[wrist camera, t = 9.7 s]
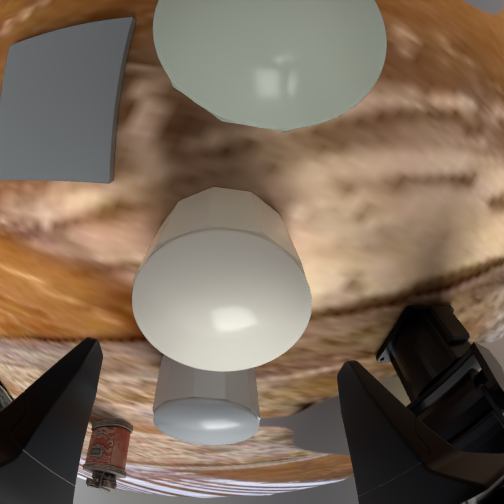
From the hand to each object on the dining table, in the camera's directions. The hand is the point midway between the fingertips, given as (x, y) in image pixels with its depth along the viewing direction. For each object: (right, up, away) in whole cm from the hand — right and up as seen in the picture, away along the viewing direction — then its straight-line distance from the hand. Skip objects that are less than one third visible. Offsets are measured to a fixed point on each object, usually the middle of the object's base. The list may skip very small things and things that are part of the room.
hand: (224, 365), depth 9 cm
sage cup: (+1, +13, +2) cm, 14 cm away
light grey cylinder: (-3, -6, +12) cm, 14 cm away
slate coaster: (-10, +12, +2) cm, 16 cm away
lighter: (-17, -19, +18) cm, 32 cm away
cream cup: (-1, +4, +7) cm, 8 cm away
